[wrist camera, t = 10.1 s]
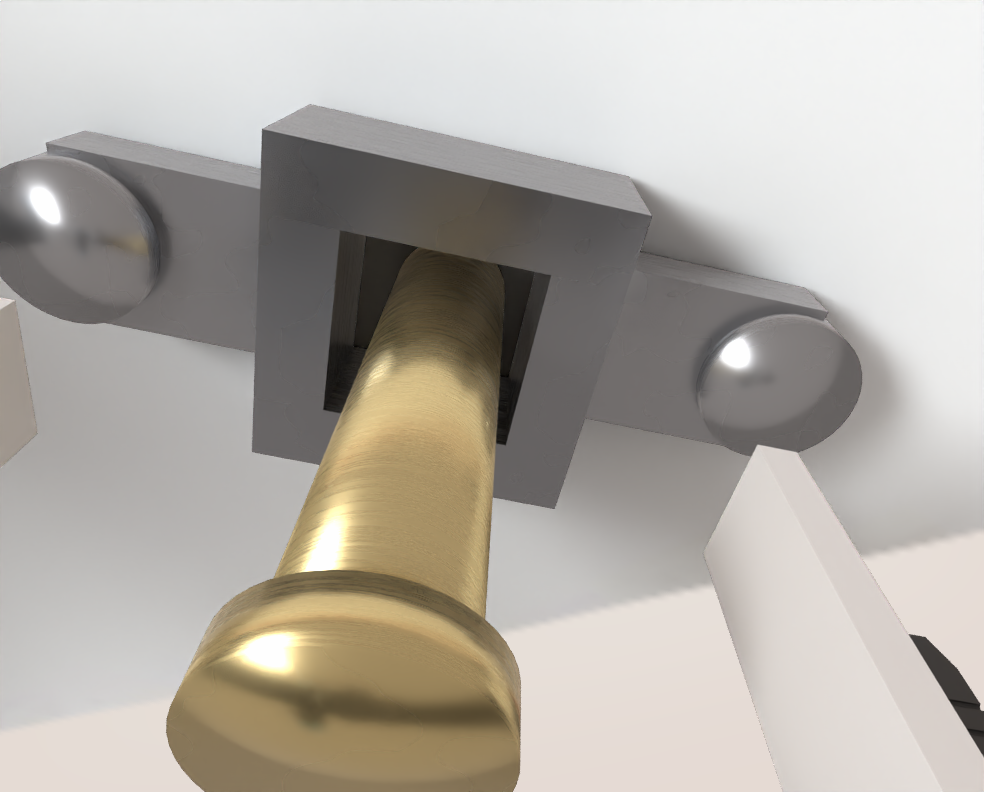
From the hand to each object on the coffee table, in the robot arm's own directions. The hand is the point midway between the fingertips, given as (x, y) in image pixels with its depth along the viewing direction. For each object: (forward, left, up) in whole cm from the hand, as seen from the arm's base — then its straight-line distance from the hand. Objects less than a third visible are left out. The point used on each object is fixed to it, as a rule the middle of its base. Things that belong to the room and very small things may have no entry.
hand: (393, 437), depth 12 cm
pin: (0, 0, -7) cm, 7 cm away
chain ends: (0, 0, -7) cm, 7 cm away
